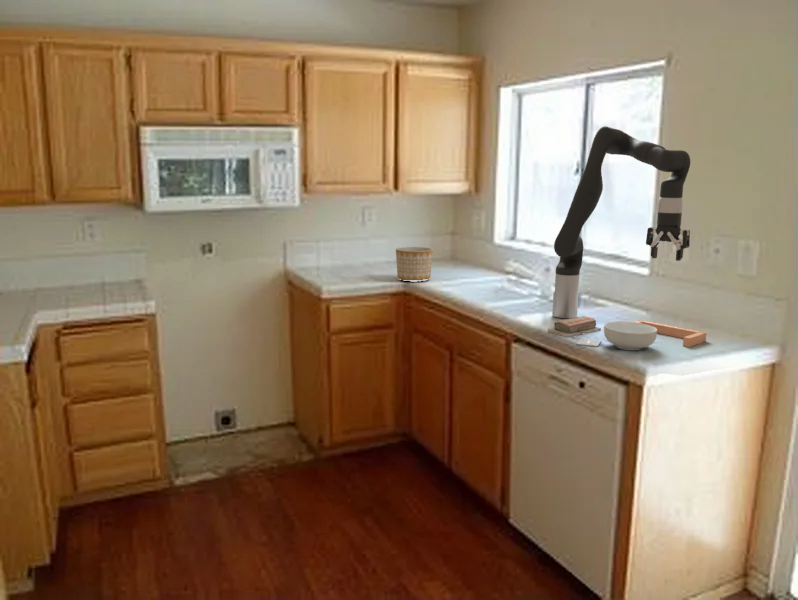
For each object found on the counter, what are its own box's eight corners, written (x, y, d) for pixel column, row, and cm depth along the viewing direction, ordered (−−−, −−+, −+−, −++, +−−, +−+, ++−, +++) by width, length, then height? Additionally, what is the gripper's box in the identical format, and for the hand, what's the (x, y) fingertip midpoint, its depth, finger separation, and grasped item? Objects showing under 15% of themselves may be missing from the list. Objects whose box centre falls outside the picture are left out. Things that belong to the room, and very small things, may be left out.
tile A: (576, 344, 228) (576, 343, 228) (580, 339, 235) (580, 338, 235) (597, 347, 226) (597, 345, 225) (600, 342, 232) (601, 340, 232)
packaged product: (579, 313, 256) (601, 318, 248) (579, 326, 257) (600, 331, 249) (547, 319, 245) (569, 325, 238) (546, 332, 246) (568, 338, 238)
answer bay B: (688, 347, 226) (689, 338, 225) (622, 332, 245) (622, 324, 244) (705, 341, 233) (706, 332, 233) (640, 328, 252) (640, 319, 252)
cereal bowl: (635, 357, 214) (636, 335, 213) (592, 345, 227) (593, 325, 226) (666, 348, 224) (668, 328, 222) (623, 338, 237) (624, 318, 236)
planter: (392, 277, 364) (392, 247, 360) (427, 276, 367) (428, 246, 364) (399, 283, 345) (399, 251, 342) (436, 282, 348) (436, 250, 345)
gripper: (696, 211, 224) (691, 260, 227) (655, 209, 234) (652, 256, 238) (685, 212, 219) (681, 262, 222) (644, 210, 230) (640, 258, 233)
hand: (666, 259), depth 230 cm, fingers open, 8 cm apart
